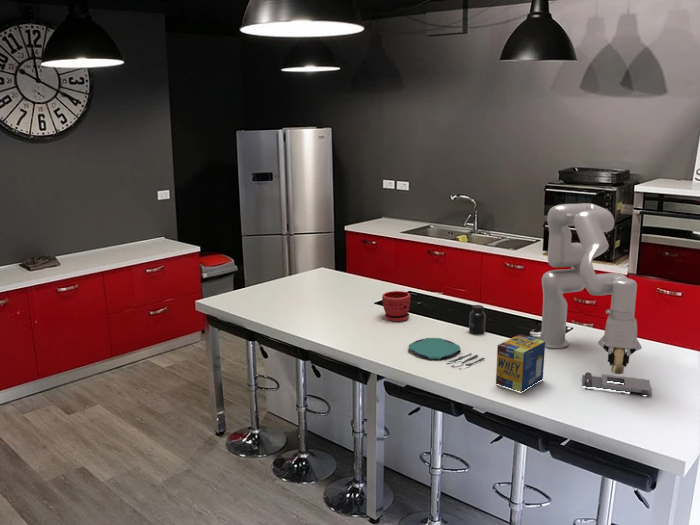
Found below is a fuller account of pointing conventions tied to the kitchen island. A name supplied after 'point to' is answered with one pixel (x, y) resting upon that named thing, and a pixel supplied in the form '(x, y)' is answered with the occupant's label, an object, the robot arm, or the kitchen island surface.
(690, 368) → the kitchen island surface
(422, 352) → the cutlery set
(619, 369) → the brass pin
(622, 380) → the hinged hasp latch
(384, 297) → the plant pot
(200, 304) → the kitchen island surface
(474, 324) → the supplement bottle
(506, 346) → the protein box
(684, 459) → the kitchen island surface
